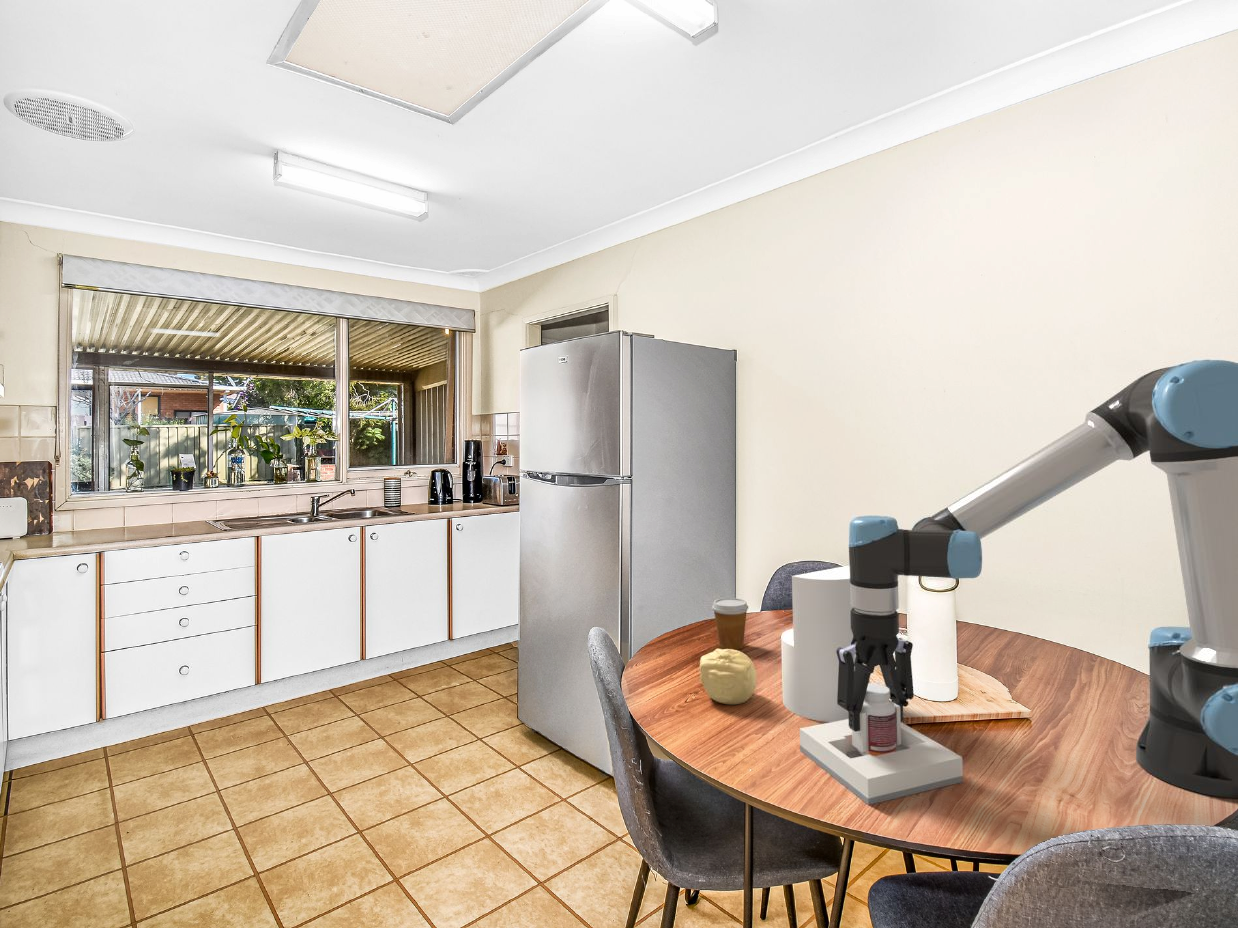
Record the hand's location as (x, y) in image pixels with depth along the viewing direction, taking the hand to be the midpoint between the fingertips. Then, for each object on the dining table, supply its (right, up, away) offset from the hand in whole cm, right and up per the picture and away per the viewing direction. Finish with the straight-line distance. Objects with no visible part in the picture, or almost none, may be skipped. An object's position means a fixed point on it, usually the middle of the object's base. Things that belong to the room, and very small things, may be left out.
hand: (876, 744), depth 107 cm
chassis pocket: (0, -4, 0) cm, 4 cm away
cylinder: (0, -3, +25) cm, 25 cm away
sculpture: (-20, -3, +30) cm, 36 cm away
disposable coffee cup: (-13, -2, +63) cm, 64 cm away
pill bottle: (0, -2, 0) cm, 2 cm away
